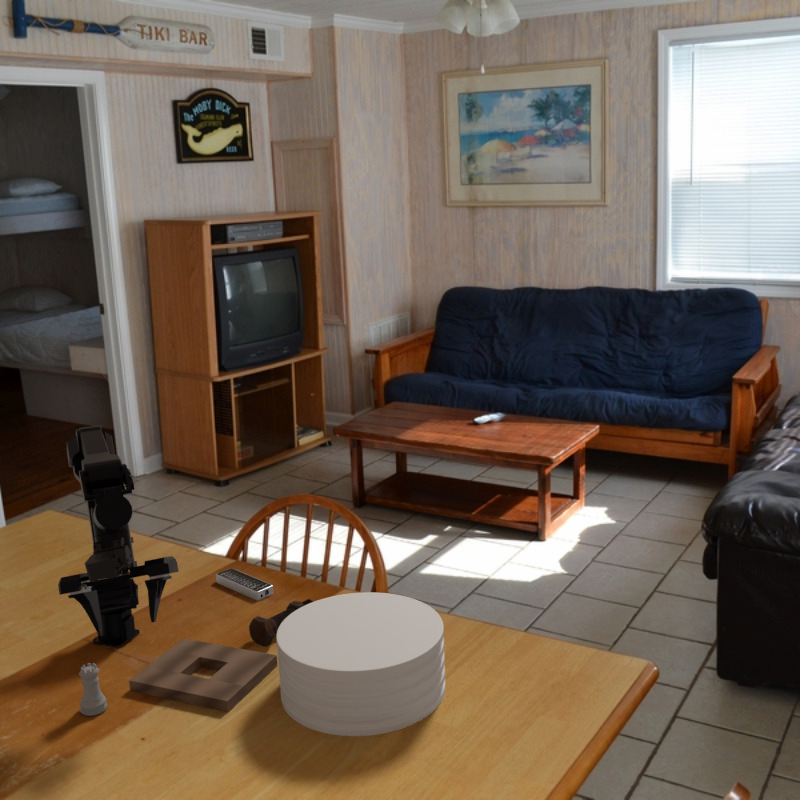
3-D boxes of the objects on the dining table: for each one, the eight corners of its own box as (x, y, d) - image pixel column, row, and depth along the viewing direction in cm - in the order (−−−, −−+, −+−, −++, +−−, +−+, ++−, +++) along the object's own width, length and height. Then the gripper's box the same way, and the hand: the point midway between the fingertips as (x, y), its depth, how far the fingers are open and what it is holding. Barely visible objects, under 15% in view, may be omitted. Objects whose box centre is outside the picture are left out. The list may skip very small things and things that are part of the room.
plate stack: (464, 660, 176) (462, 601, 173) (416, 749, 150) (413, 681, 148) (320, 641, 185) (317, 585, 182) (252, 721, 159) (246, 658, 157)
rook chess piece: (83, 703, 167) (77, 661, 165) (110, 701, 167) (105, 659, 165) (77, 718, 162) (71, 674, 160) (104, 716, 163) (99, 672, 161)
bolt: (316, 624, 196) (262, 652, 184) (299, 607, 198) (245, 634, 186) (326, 604, 193) (271, 632, 181) (309, 587, 195) (254, 613, 183)
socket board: (130, 690, 170) (129, 680, 170) (184, 647, 184) (183, 638, 184) (228, 712, 162) (227, 701, 162) (277, 665, 176) (276, 655, 176)
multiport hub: (232, 577, 216) (231, 567, 215) (274, 595, 206) (273, 585, 205) (215, 583, 212) (214, 574, 212) (257, 602, 203) (257, 592, 202)
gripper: (38, 545, 157) (52, 643, 155) (151, 523, 156) (166, 621, 154) (65, 544, 168) (79, 635, 166) (171, 523, 167) (186, 615, 165)
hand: (126, 627), depth 163 cm, fingers open, 9 cm apart
